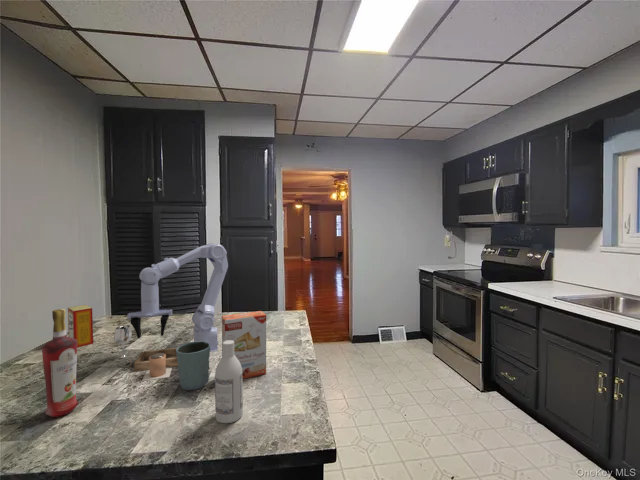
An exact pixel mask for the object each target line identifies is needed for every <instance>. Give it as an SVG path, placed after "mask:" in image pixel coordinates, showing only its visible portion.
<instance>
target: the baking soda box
mask: <svg viewBox="0 0 640 480" xmlns="http://www.w3.org/2000/svg"><path fill="white" fill-rule="evenodd" d="M93 321H94V320H93V308H92V307H91V306H89V305H88V304H83V305H77V306H76V305H75V306H70V307H67V325H68V326H67V327H68V329H67V332H68V334H67V335H68V337H71V338H74V339H76V340H77V348H81V347H86V346H91V345H93V344H94V324H93Z"/></svg>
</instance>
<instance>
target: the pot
mask: <svg viewBox="0 0 640 480" xmlns="http://www.w3.org/2000/svg"><path fill="white" fill-rule="evenodd" d="M166 369H167V367H166V354H164V353H157V354H153V355H151V356H150V357H149V370H148V371H149V376H150V377H159V376H162V375H164V374H165V373H166Z"/></svg>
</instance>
